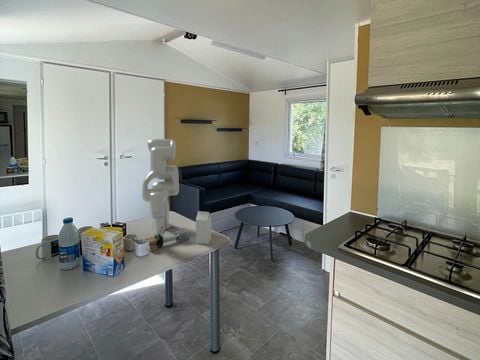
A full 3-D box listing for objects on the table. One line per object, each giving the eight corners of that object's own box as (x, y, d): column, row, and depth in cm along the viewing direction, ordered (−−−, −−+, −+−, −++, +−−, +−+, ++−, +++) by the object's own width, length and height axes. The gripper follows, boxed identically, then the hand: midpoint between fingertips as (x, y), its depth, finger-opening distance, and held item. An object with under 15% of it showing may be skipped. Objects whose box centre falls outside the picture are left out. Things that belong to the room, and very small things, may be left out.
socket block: (146, 247, 159) (145, 237, 158) (152, 245, 161) (152, 235, 160) (149, 251, 154) (149, 241, 153) (156, 249, 156) (156, 239, 155)
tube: (149, 246, 159) (148, 235, 157) (177, 239, 169) (176, 229, 167) (151, 249, 156) (151, 237, 154) (179, 241, 166) (179, 231, 164)
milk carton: (207, 244, 164) (207, 214, 160) (196, 243, 165) (195, 213, 161) (211, 239, 170) (211, 210, 167) (200, 238, 172) (199, 209, 168)
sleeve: (174, 240, 169) (174, 231, 168) (185, 237, 173) (185, 228, 172) (178, 243, 165) (178, 234, 164) (189, 240, 169) (189, 231, 168)
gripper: (146, 211, 161) (147, 240, 164) (156, 219, 148) (157, 250, 151) (158, 208, 165) (159, 237, 169) (169, 216, 152) (170, 247, 156)
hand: (158, 243), depth 160 cm, fingers closed on tube, 3 cm apart
